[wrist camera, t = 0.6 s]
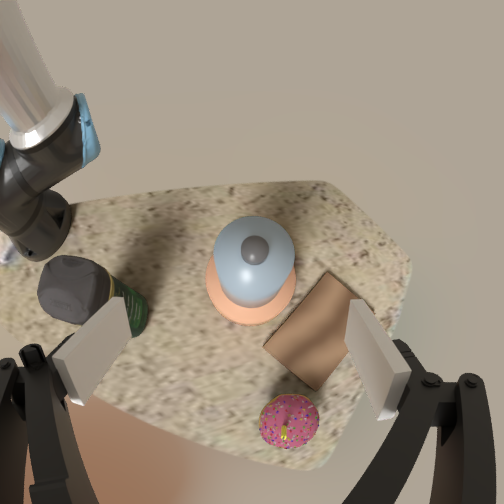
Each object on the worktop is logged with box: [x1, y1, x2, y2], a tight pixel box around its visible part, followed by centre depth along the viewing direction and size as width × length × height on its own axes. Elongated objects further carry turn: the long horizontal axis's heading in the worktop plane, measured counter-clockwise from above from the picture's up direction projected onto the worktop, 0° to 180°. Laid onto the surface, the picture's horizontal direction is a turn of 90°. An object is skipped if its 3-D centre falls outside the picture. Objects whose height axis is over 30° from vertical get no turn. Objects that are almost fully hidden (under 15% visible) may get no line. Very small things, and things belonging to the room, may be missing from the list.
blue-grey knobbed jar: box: [214, 216, 295, 308], centre depth 36 cm, size 9×9×11 cm
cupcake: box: [259, 394, 319, 449], centre depth 33 cm, size 9×8×12 cm
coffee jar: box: [37, 255, 148, 338], centre depth 35 cm, size 10×8×19 cm
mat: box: [263, 272, 375, 391], centre depth 43 cm, size 11×16×1 cm
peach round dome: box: [206, 254, 296, 326], centre depth 44 cm, size 13×13×5 cm
